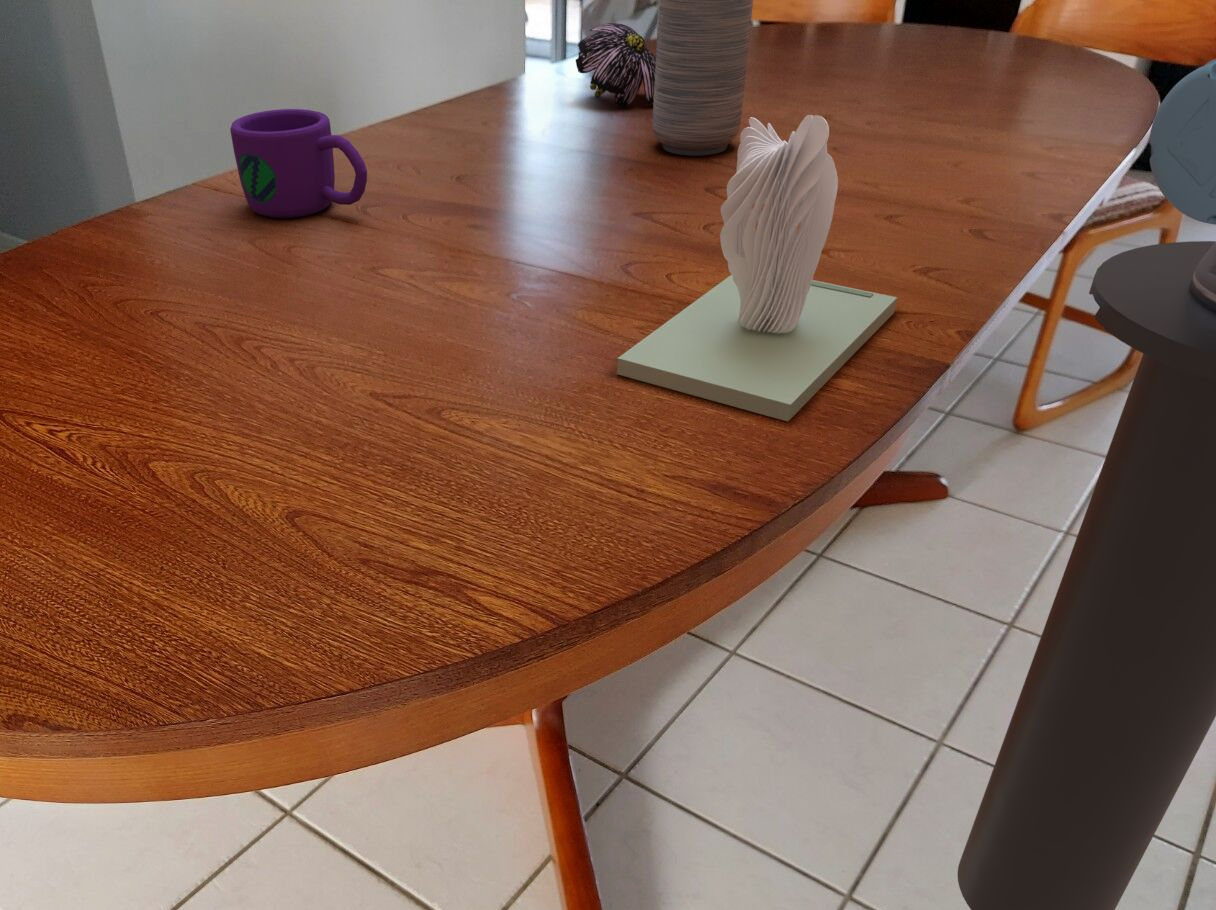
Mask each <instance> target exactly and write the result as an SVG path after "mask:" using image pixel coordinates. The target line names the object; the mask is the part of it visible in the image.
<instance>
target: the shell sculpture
mask: <svg viewBox="0 0 1216 910" xmlns="http://www.w3.org/2000/svg"><path fill="white" fill-rule="evenodd" d="M748 124H749V126H747V127H745V128H743V129H742V131H740V134H739V142H740V143H739V145H738V148H737V153H736V154H737V155H736V156H737V162H736V170H735V171H736V173H735V174H734V175H732V177H731V178H730V179H729V180H728V182H727V185H726V196H727V198H726V199H725V201H724V202H723V203H722V205H721V206H720V210H719V213H720V215H721V219H722V222H723V226H722V227H721V229H720V233H719V241H720V247H721V252H722V255H723V257H724V259H725V261H727V269H728V272H729V274H730V275H733V281H734V283H735V284H736V286H737V288H738V292H739V295H740V312H739V317H738V321H739V323H740V325H741V327H743V328H747V329H748V330H754V331H757V330H758V331H759V332H760V331H762V330H763V329H764V326H765V324H766V322H767V320H768V322H767V325H766V327H765V329H764V330H763V332H764V331H765V330H766V329H767V332H768V333H769V332H771V333H788V332H790V331H792V330H793V329H794V328H795V327H796V325H797V323H798V321H799V319H800V316H801V313H802V311H803V308H804V305H805V301H806V297H807V294H808V292H809V289H810V287H811V283H812V280H814V275H815V273H816V271H817V268H818V266H819V262H820V260H821V256H822V253H823V250H824V247H825V245H826V242H827V239H828V235H829V232H830V229H831V225H832V222H833V216H834V210H835V203H836V199H837V193H838V189H839V178H838V172H837V167H836V163H835V160H834V158H833V157H832V155H831V154H829V152H828V144H827V143H828V140H829V137H830V127H829V123H828V122H827V120H826V119H825V118H824V117H823V116H822V115H818V114H816V115H815V114H814V115H812V114H807V115H806V116H804V117H803V119H802V120H801V122H800V124H799V125H798V127H797V129H796V130H795V131H794V130H792V131H791V133H790V135H789V138H788V140H787V141H786V140H782V139H781V138H780V137H779V136H778V134H777V132H776V131H775V129H774V127H773V126H772V124H771V123H770V122H768V123H767V128H766V126H765V125H764V124H763V123H762V122H761V121H760V120H758V119H757V118H755V117H754V116H750V117H749V118H748ZM769 315H770V316H769ZM766 316H767V317H766ZM767 327H768V328H767Z"/></svg>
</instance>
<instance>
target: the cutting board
mask: <svg viewBox="0 0 1216 910" xmlns="http://www.w3.org/2000/svg"><path fill="white" fill-rule="evenodd" d="M897 302H898V297H897V296H894V295H893V296H892V295H889V294H883V293H878V292H873V291H868V290H863V289H859V288H853V287H849V286H845V285H844V286H843V285H839V284H834V283H829V282H825V281H821V280H820V281H819V280H816V279H815V280H814V279H813V280H812V283H811V287H810V289H809V292H808V294H807V297H806V301H805V305H804V308H803V311H802V313H801V316H800V319H799V321H798V323H797V325H796V327H795V328H794V329H793V330H792V331H790V332H788V333H771V332H769V333H768V332H767V329H766V330H765V331H764V332H763V330H764V329H765V327H766V325H767V322H768V320H767V322H766V324H765V326H764V329H763V330H762V331H760V332H759V331H758V330H757V331H754V330H748V329H747V328H743V327H741V325H740V323H739V321H738V317H739V312H740V295H739V292H738V288H737V286H736V284H735V283H734V281H733V275H732V274H730V275H729V276H727V277H726V278H725V279H724V280H722V281H721V282H719V283H718V284H717V285H715V286H714V287H713V288H711V289H709V290H708V291H707V292H706V293H704V294H703V295H701V296H699V298H698V299H696V300H694V301H693V302H692V303H690V304H689V305H688V306H686V307H685V308H684V309H682V310H681V311H679V312H678V313H677V314H676V315H674V316H673V317H671V318H670V319H669V320H667V321H666V322H665V323H664V324H662V325H660V327H658V328H656V329H655V330H654V331H652V332H651V333H649V334H648V335H647V336H646V337H644V338H643V339H641V340H640V341H639V342H637V343H636V344H635V345H633V346H632V347H630V348H629V349H628V350H627V351H625V352H624V353H623V354H621V355H620V356H618V357H617V362H616V363H617V365H616V375H618V376H622V377H625V378H629V379H632V380H636V381H640V382H643V383H647V384H651V385H655V386H658V387H661V388H665V389H668V390H672V391H675V392H680V393H683V394H687V395H691V396H693V397H697V398H701V399H705V400H708V401H712V402H715V403H719V404H723V405H726V406H730V407H734V408H737V409H740V410H744V411H748V412H752V413H755V414H759V415H763V416H766V417H770V418H773V419H776V420H781V421H785V422H788V423H789V422H790V420H791V419H792V418H793V417H794V416H795V415H796V414H797V413H798V412H800V410H801V409H802V408H803V407H804V406H805V405H806V404H807V403H808V402H810V400H811V399H812V398H813V397H814V396H815V395H816V394H817V393H818V392H819V391H820V389H822V387H824V386H825V384H826V383H827V382H828V381H830V379H832V377H834V375H835V374H836V373H837V372H838V371H839V370H840V369H841V368H842V367H843V366H844V365H845V364H846V363H847V362H848V361H849V360H850V359H851V358H852V357H853V356H854V355H855V354H856V353H857V352H858V351H859V349H861V348H862V347H863V345H864V344H865V343H866V342H867V341H868V340H869V339H870V338H871V337H872V336H873V335H874V334H875V333H876V332H877V331H879V330H880V328H881V327H882V326H883V325H884V324H885V323H886V322H887V321H888V320H889V319H890V318H891V317H892V316H893V315H894V313H895V312H896V308H897V307H896V306H897ZM769 316H770V315H769ZM766 317H767V316H766ZM767 328H768V327H767Z"/></svg>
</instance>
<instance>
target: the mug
mask: <svg viewBox="0 0 1216 910" xmlns="http://www.w3.org/2000/svg"><path fill="white" fill-rule="evenodd" d="M229 129H230V137H231V142H232V148H233V154H234V158H235V162H236V169H237V171H238V176H239V181H240V184H241V188H242V192H243V194H244V198H245V200H246V202H247V204H248V206H249V207H250V208H251V210H252V211H253V212H255V213H256V214H259V215H261V216H264V217H268V218H275V219H292V218H301V217H306V216H310V215H314V214H317V213H320V212H321V211H323V210H325V209H327V208H328V207H329V206H330V205H331V203H334V204H337V205H343V206H350V205H353V204H355V203H357V202H359V201H360V200H361V198H362V197H363V195H364V193H365V192H366V186H367V183H368V169H367V167H366V164H365V161H364V160H363V157H362V156H361V154H360V152H359V151H358V150H357V149H356V147H355V146H354V145H353V144H352V143H351V142H350V140H348V139H347V138H345V137H343V136H342V135H339V134H332V129H331V121H330V118H329V116H328V115H326V113H324V112H320V111H317V110H311V109H302V108H282V109H281V108H280V109H272V110H264V111H257V112H254V113H251V114H247V115H243V116H242V117H239V118H237V119H235V120H234V121H232V122H231V125H230V128H229ZM334 149H338V150H340V151H341V152H342V153H343V154H344V156H346V158H347V160H348V162H349V163H350V164H351V166H352V168H353V170H354V174H355V176H354V181H353V185H352V188H351V190H350V192H349V191H348V192H344V191H343V192H341V191H338V190H335V176H336V175H335V174H336V173H335V160H334V159H335V157H334Z"/></svg>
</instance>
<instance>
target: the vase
mask: <svg viewBox="0 0 1216 910" xmlns="http://www.w3.org/2000/svg"><path fill="white" fill-rule="evenodd" d="M753 6H754V0H658V9H657V28H656V29H657V31H656V48H655V57H656V65H655V84H654V103H652V105H653V107H652V123H651V124H652V125H651V126H652V131H653V134H654V136H655V138H656V139H657V141H659V142H660V143H661V144H662V145H661V147H662V149H663V150H664V151H665V152H668V153H670V154H673V155H678V156H679V155H680V156H687V157H688V156H689V157H690V156H691V157H701V156H702V157H703V156H712V155H716V154H720V153H722V152H724V151H726V150H727V149H728V145H729V144H730V143H731V142H732V141H734V140H735V139H736V137H737V136H738V135H739V133H740V130H741V127H742V118H743V116H742V115H743V106H744V96H745V86H746V77H747V68H748V67H747V65H748V57H749V46H750V36H751V26H752V17H753V16H752V15H753V9H754V8H753Z"/></svg>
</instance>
